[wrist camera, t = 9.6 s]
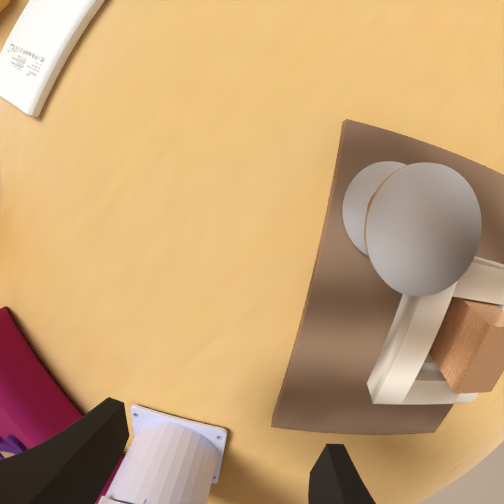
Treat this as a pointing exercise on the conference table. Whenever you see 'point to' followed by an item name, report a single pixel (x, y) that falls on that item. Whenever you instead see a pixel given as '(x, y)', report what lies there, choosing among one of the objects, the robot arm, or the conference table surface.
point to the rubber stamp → (4, 4)
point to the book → (30, 397)
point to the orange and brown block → (470, 345)
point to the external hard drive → (41, 49)
